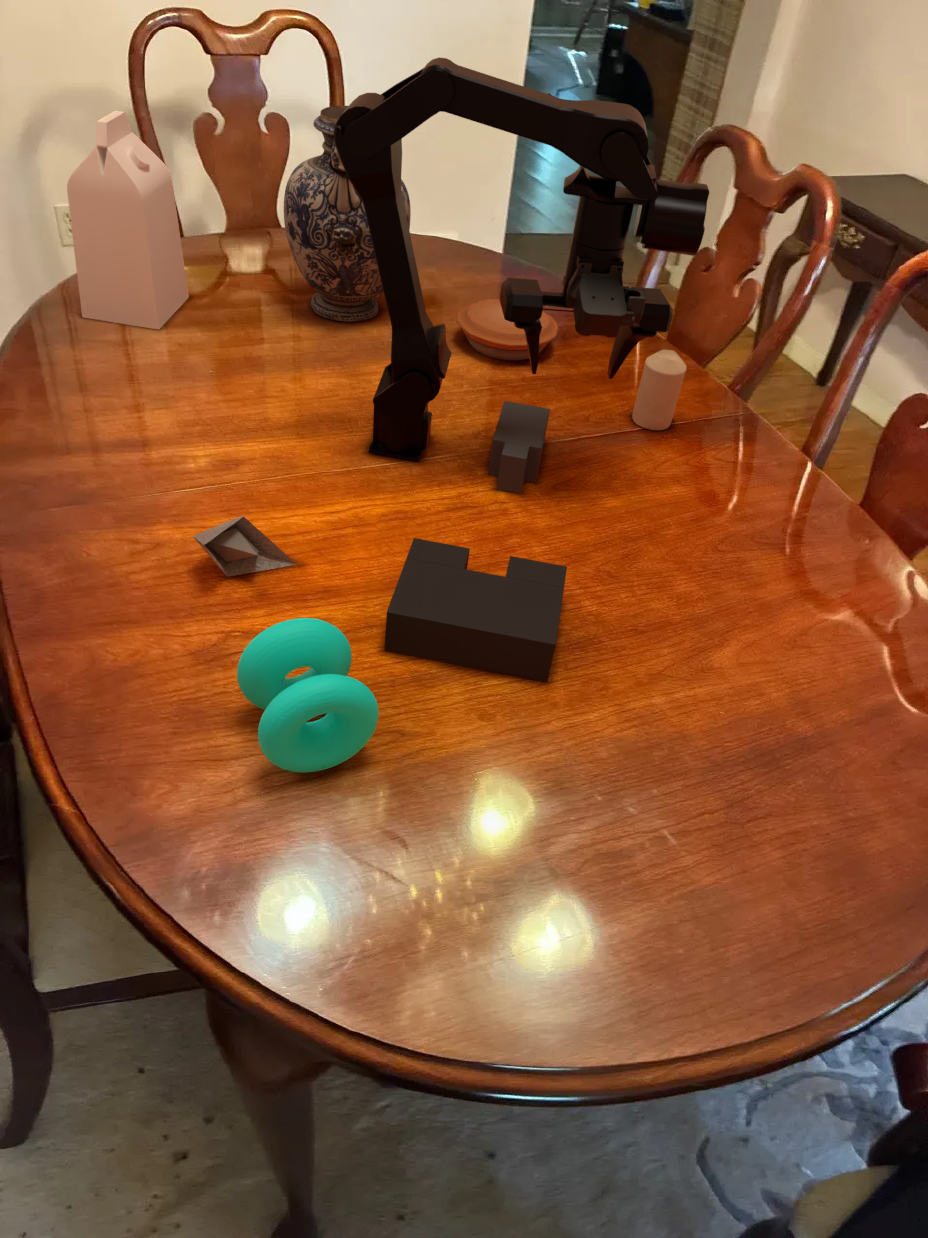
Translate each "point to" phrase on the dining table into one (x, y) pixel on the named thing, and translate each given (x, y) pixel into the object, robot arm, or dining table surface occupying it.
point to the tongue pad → (518, 445)
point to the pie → (500, 331)
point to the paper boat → (241, 548)
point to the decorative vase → (333, 232)
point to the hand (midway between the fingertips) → (571, 374)
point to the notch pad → (476, 611)
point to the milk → (126, 231)
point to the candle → (659, 390)
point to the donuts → (306, 695)
